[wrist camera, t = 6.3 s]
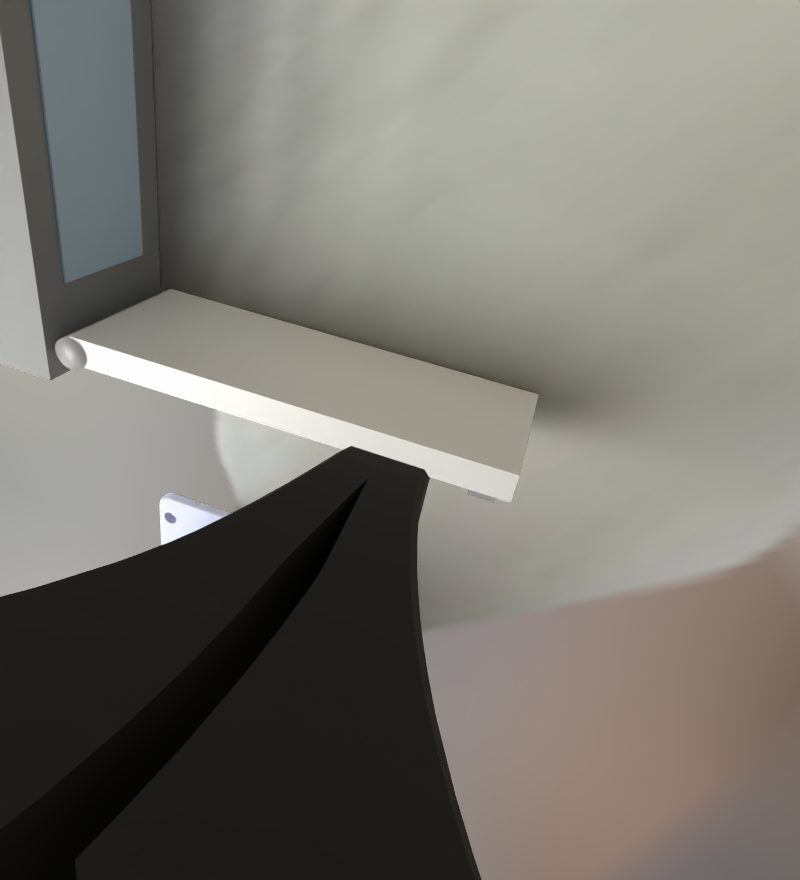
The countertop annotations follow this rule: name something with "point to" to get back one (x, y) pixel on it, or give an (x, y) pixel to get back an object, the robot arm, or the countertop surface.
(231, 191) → the countertop surface
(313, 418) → the side door
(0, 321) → the camera body
